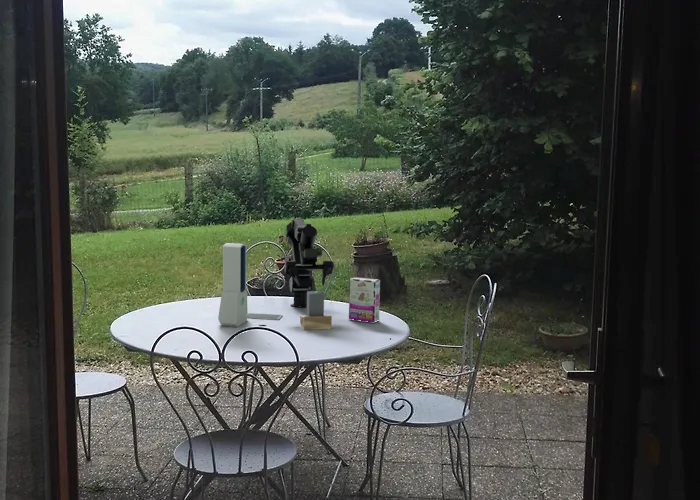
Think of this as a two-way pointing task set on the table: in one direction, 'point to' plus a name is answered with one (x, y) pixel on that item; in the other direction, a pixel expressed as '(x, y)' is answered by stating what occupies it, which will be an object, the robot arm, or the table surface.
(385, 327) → the table surface
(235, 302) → the electronic device
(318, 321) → the tan wooden block
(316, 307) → the block
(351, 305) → the candy bar box
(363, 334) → the table surface
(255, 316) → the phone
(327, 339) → the table surface
